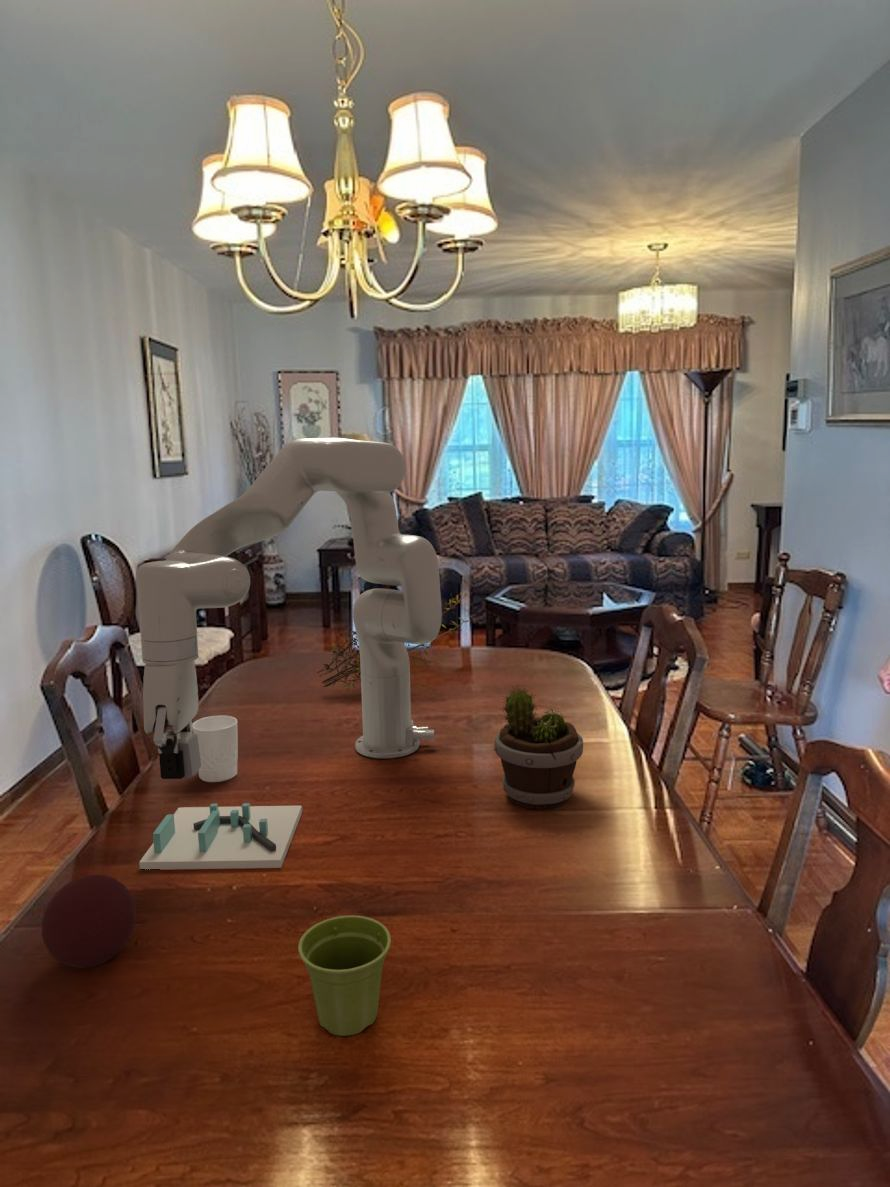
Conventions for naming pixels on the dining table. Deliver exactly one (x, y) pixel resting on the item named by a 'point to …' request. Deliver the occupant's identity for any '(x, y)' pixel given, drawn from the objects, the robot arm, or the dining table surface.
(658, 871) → the dining table surface
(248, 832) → the clips
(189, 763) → the block
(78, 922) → the decorative ball
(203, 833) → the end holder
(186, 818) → the board
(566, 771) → the flowerpot
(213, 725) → the white cup
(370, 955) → the plant pot
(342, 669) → the dried plant
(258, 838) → the cable
